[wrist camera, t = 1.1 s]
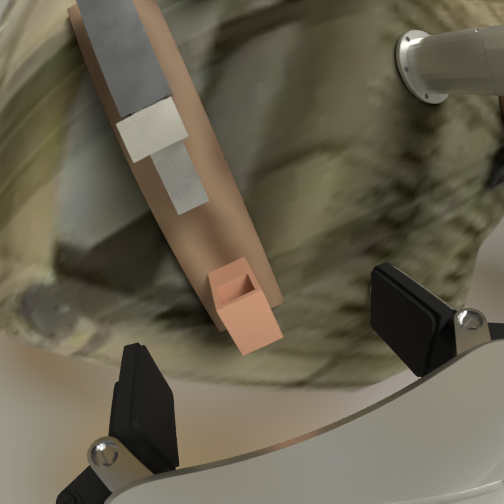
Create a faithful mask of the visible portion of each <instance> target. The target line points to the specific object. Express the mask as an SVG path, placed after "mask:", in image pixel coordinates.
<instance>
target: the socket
mask: <svg viewBox="0 0 504 504" xmlns="http://www.w3.org/2000/svg"><path fill="white" fill-rule="evenodd" d="M208 276H209V281H210V286H211V290H212V294H213V299H214V303H215V307H216V311H217V313H218V315H219V316H220V318H221V320H222V322H223V323H224V325H225V327H226V328H227V330H228V332H229V333H230V335H231V337H232V338H233V340H234V342H235V343H236V345H237V347H238V348H239V350H240V352H241V353H242V355H246V354H248V353H250V352H253V351H255V350H257V349H259V348H261V347H264V346H266V345H268V344H270V343H272V342H274V341H276V340H279V339H281V338H283V335H282V333H281V330H280V328H279V326H278V324H277V322H276V319H275V317H274V315H273V313H272V311H271V308H270V306H269V304H268V302H267V299H266V297H265V295H264V293H263V291H262V289H261V287H260V285H259V283H258V281H257V279H256V277H255V275H254V274H253V272H252V270H251V268H250V266H249V264H248V262H247V260H246V259H245V257H243V258H240V259H238V260H236V261H234V262H232V263H230V264H228V265H225V266H223V267H221V268H219V269H217V270H215V271H213V272H210V273H208Z"/></svg>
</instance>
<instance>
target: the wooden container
mask: <svg viewBox="0 0 504 504" xmlns="http://www.w3.org/2000/svg"><path fill="white" fill-rule="evenodd" d="M500 102H501V107H502V111H503V115H504V96H500Z"/></svg>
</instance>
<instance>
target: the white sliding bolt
mask: <svg viewBox="0 0 504 504" xmlns="http://www.w3.org/2000/svg"><path fill="white" fill-rule="evenodd" d="M116 126H117V128H118V130H119V132H120V135H121V137H122V139H123V141H124V143H125V146H126V148H127V150H128V152H129V154H130V157H131V159H132V161H133V163H135V162H137V161H139V160H141V159H143V158H145V157H147V156H149V155H150V156H151V158H152V160H153V163H154V165H155V167H156V169H157V171H158V173H159V175H160V177H161V180H162V182H163V184H164V186H165V188H166V190H167V192H168V194H169V196H170V198H171V200H172V202H173V204H174V206H175V208H176V210H177V213H178V215H180V214H182V213H185V212H187V211H189V210H191V209H193V208H195V207H197V206H199V205H201V204H203V203H206V202H208V201H209V199H208V196H207V194H206V192H205V190H204V187H203V185H202V183H201V181H200V179H199V176H198V174H197V172H196V170H195V167H194V165H193V163H192V161H191V159H190V156H189V154H188V152H187V150H186V147H185V145H184V143H183V141H182V139H184V138H186V137H188V134H187V131H186V129H185V127H184V125H183V122H182V120H181V118H180V116H179V113H178V111H177V109H176V106H175V104H174V102H173V100H172V97H169V98H167V99H164V98H162V99H160V100H158V101H156V102H154V103H152V104H150V105H148V106H146V107H144V108H142V109H140V110H138V111H136V112H134V113H132V116H130V117H128V118H126V119H124V120H122V121H120V122H119V123H117V124H116Z"/></svg>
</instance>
